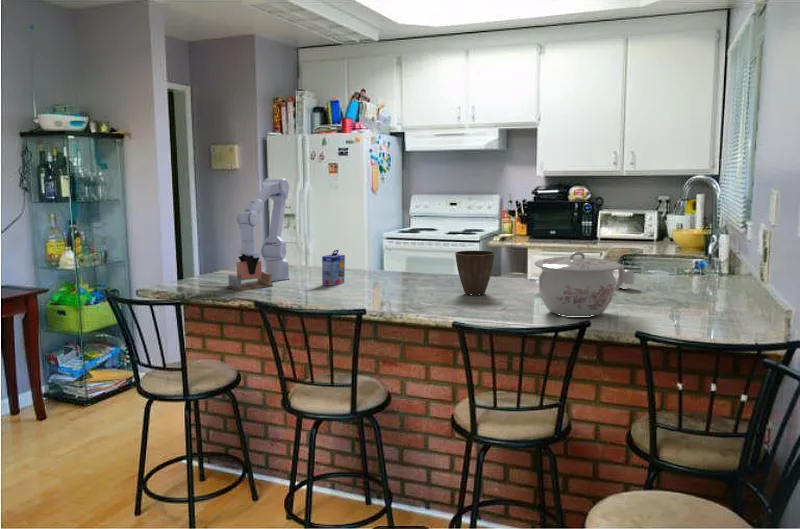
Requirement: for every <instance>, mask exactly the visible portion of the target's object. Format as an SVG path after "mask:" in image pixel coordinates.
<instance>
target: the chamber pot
mask: <svg viewBox="0 0 800 529" xmlns="http://www.w3.org/2000/svg"><path fill="white" fill-rule="evenodd" d="M534 265H535V266H536V267H538V268H540V269H541V272H540V274H539V275H538V288H539V289H538V290H539V296H540V299H541V300H542V302H543V303H544V305H545V307H546V308H547V310H548V311H549V312H550V313H553V314H554V313H555V315H557V314H560V315H565V316H591V315H597V314H600V313H602V314H603V313H604V312H605V311H606V310H607V309H608V307H609V306H610V305H611V303H612V302H613V300H614V296H615V293H616V292H617V291H618V290H620V289H619V288H620V286H621V285H622V284H623V282H624V279H625V270H626V269H625V268H624V266H623V265H622V264H621V263H620V262H619V261H618V262H614V261H612V260H608V259H603V258H600V257H599V258H597V257H590V256H586V254H584V253H583V252H581V251H574V252H572V253H571V254H570V256H557V257H556V256H555V257H548V258H544V259H543V258H542V259H539V260H537V261H535V262H534ZM614 270H618V272H619V276H618V279H617V282H616V280H615V278H614V276H613V274H612V273H613V271H614ZM600 315H601V314H600ZM597 316H598V315H597Z"/></svg>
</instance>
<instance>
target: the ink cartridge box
mask: <svg viewBox="0 0 800 529" xmlns="http://www.w3.org/2000/svg"><path fill="white" fill-rule="evenodd" d="M339 251H340V249H335V250H333V251H332V253H331V254H326V255H323V256H322V258H321V260H322V261H321V262H322V264H321V265H322V266H321V269H322V270H321V271H322V274H321V275H322V276H321V277H322V278H321V280H322V281H321V282H322V285H323V286H329V287H333V286H337V285H340V284H344V283H345V276H346V275H345V274H346V273H345V266H346V265H345V261H346V256H345V254H341V253H339Z"/></svg>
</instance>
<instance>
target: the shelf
mask: <svg viewBox="0 0 800 529" xmlns="http://www.w3.org/2000/svg"><path fill="white" fill-rule="evenodd" d="M261 272H262V278H258V279H257V281H256V282H247V283H241V289H237V288H234V287H231V286H229V285H227V288H228V287H229V289H231V288H232V290H234V289H235V290H234V291H237V290H238V291H239V290H240V291H247V290H252V289H253V290H254V289H262V287H263V288H269V287H273V284H272V281H271V274H269V273H266V271H261ZM246 289H247V290H246Z"/></svg>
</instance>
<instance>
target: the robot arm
mask: <svg viewBox="0 0 800 529" xmlns="http://www.w3.org/2000/svg"><path fill="white" fill-rule="evenodd" d="M261 188H262V189H261V190H260V192H259V193H258V195H257V197H256V198H252V199H251V200H250V201H249V203H248V204H247V206H246V207H245V209H244V210H243V211H240V212H239V213H238V215H237V218H236V222H237V224H238V229H239V230H240V246H241V247H240V248H241V249H238V255H239V256H238V259H239V262H244V261H246V262H247V265H248V271H249V274H250V275H251V274H255V270H256V266H257V263H258V261H260V255H261V256H262V258H263V260H265V273H269V274H271V282H276V281H277V282H278V281H284V280H290V272H289V271H290V270H289V262H288V260H287V258H285V257H286V255H287V243H286V241H284V239H282V234H283V233H282V232H283V226H284V218H285V210H286V203H287V200H288V197H289V190H290V184H289V182H288V180H287V179H286V178H265V179H264V180H263V182H262V184H261ZM268 199H271V200H272V202H273V203H272V204H273V205H272V212H271V217H270V218H271V219H270V224H269V233H268V236H267V237H266V238H265V239H264V240H263V243H262V245H261V248H260V253H259V252H257V249H256V248H257V247H256V246H257V245H256V227H255V226H256V224H257V223H258V220H259V217H260V216H259V215H260V214H261V212H263V209H264V207H265V206H264V203H265V202H266V201H267V200H268ZM240 255H241V256H240Z"/></svg>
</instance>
